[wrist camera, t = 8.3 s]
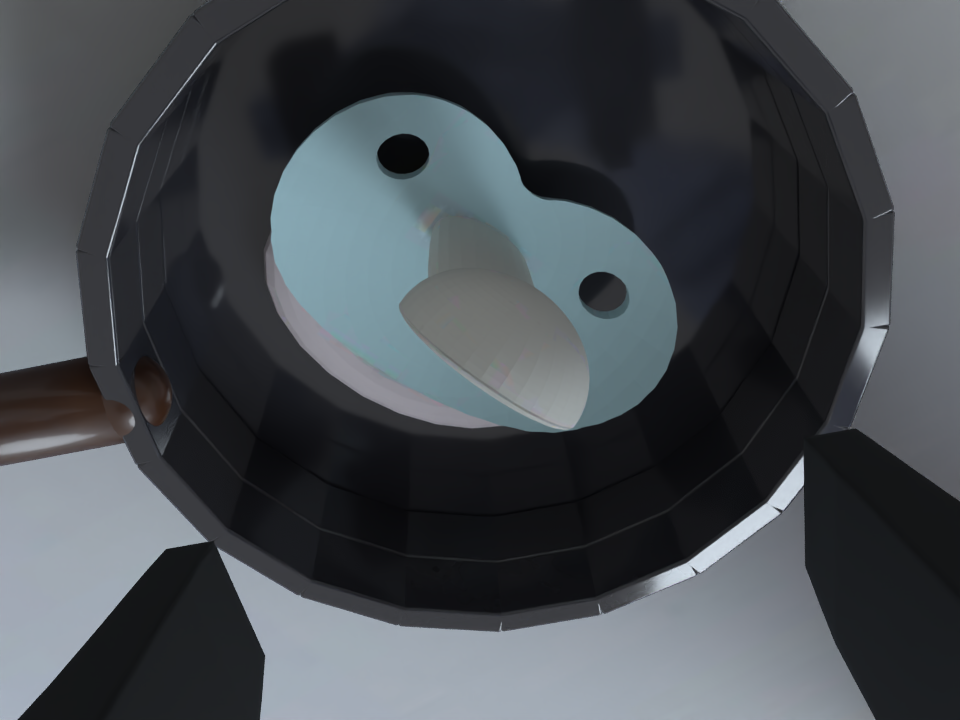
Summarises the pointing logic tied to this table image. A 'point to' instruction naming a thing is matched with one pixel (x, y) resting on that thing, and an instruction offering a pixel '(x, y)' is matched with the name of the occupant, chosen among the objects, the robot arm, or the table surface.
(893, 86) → the table surface
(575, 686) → the table surface
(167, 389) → the pan handle
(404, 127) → the pacifier
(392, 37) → the pan
